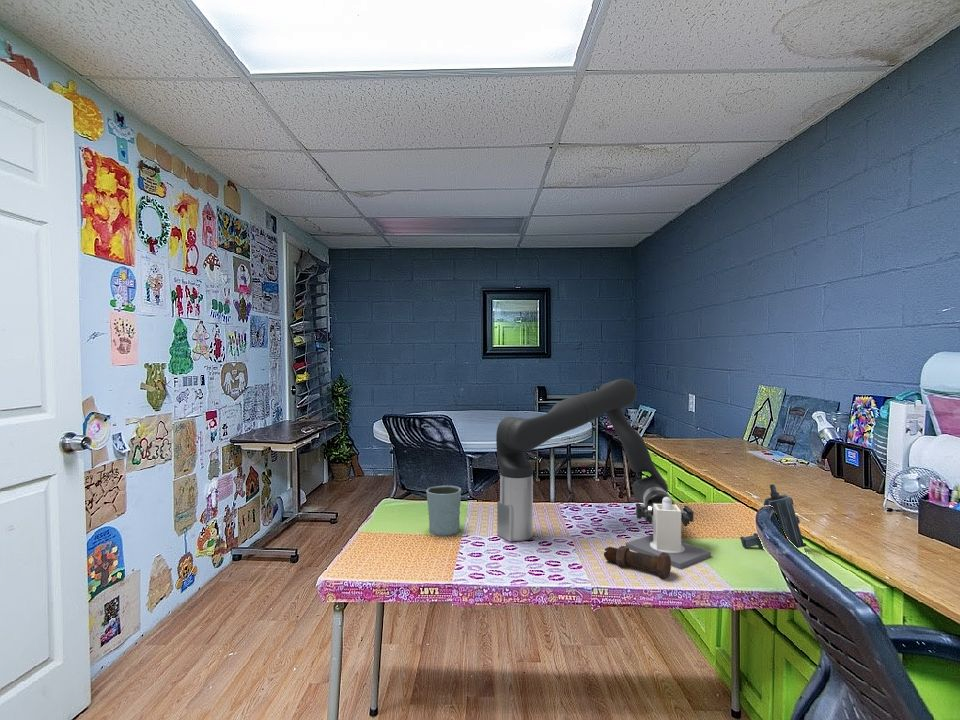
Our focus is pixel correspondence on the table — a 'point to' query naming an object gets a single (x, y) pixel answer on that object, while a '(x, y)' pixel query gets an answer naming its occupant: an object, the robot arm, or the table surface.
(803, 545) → the gun
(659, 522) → the collar
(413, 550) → the table surface
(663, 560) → the bolt
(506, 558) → the table surface
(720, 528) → the table surface
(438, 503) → the drinking glass
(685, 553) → the post stand
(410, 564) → the table surface
